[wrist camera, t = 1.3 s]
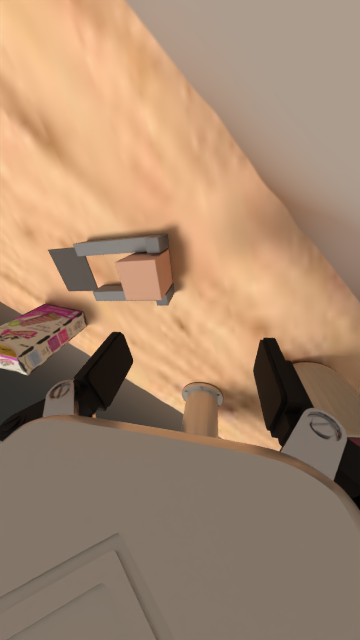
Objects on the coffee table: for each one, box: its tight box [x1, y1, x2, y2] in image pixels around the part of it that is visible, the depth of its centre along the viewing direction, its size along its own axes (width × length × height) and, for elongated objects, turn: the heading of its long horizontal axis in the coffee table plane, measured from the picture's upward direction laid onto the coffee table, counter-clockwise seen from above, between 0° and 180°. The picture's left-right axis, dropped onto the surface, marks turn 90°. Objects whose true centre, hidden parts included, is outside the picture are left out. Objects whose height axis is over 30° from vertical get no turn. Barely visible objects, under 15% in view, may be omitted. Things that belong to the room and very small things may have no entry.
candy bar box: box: [0, 304, 87, 375], centre depth 35 cm, size 11×5×16 cm, turn 84°
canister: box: [293, 362, 360, 447], centre depth 30 cm, size 18×18×21 cm
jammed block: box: [115, 249, 173, 300], centre depth 27 cm, size 6×6×8 cm
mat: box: [48, 248, 98, 291], centre depth 34 cm, size 9×8×1 cm
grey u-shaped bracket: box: [73, 234, 174, 305], centre depth 29 cm, size 11×16×6 cm
